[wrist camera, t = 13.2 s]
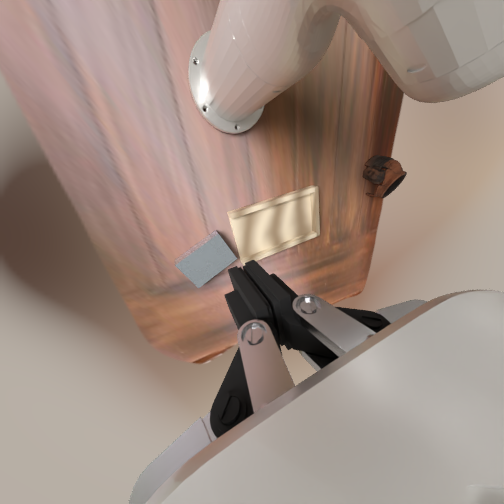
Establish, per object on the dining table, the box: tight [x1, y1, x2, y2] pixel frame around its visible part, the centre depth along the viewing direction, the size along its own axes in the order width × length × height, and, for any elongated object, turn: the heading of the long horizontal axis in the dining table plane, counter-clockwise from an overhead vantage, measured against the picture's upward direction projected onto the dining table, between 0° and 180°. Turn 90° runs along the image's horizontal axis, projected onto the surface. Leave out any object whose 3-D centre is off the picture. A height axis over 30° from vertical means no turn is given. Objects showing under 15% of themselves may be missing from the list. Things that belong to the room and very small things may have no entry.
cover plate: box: [175, 230, 237, 288], centre depth 38 cm, size 10×7×3 cm
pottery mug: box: [363, 155, 406, 198], centre depth 46 cm, size 12×10×8 cm
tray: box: [227, 186, 320, 266], centre depth 41 cm, size 21×12×2 cm, turn 105°
